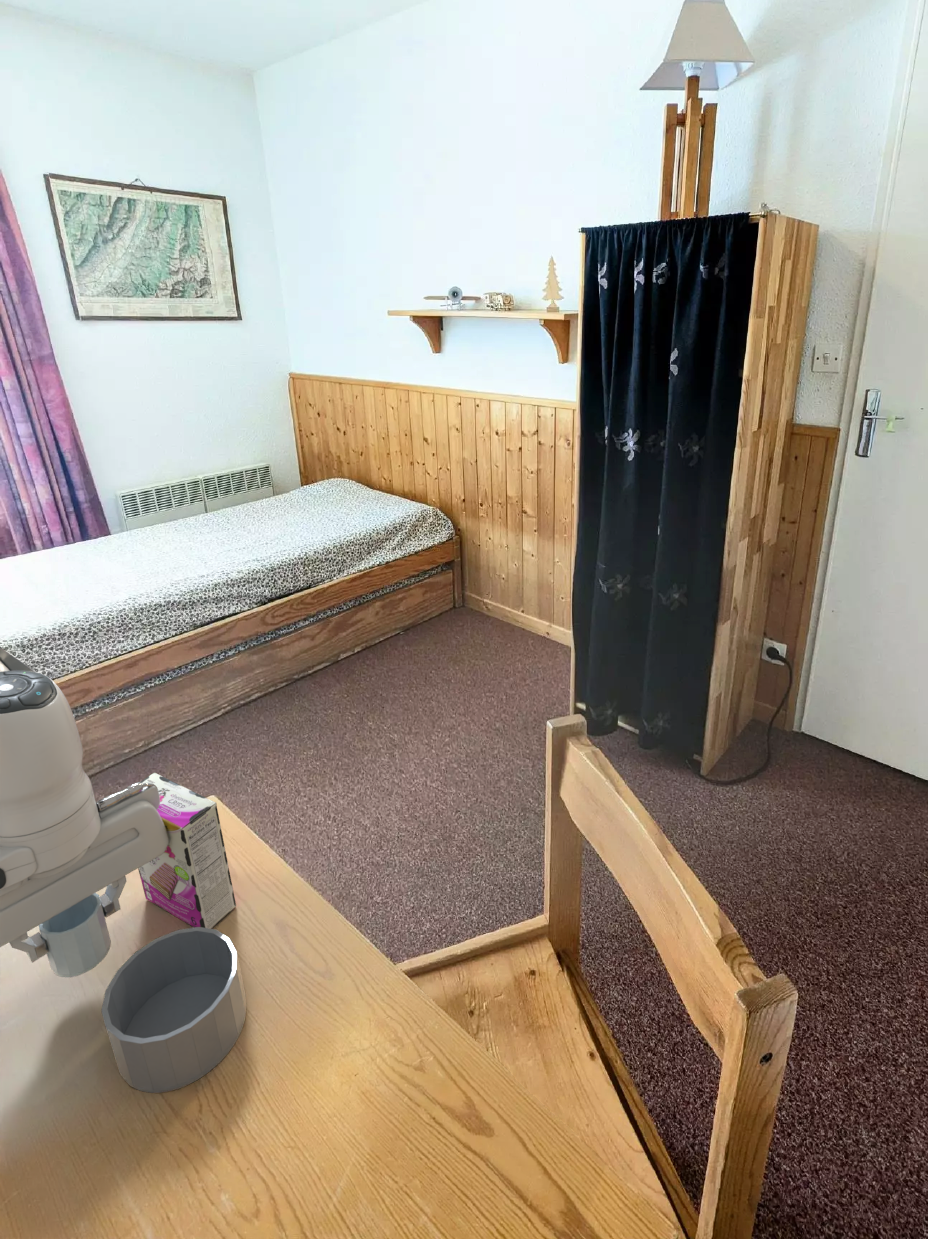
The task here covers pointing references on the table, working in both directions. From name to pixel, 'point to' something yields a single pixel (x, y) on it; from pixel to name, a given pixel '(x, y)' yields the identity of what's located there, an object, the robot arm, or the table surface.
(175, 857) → the candy bar box
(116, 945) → the table surface
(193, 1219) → the table surface
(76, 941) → the light blue cup
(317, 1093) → the table surface
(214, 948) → the gray bowl
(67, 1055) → the table surface
